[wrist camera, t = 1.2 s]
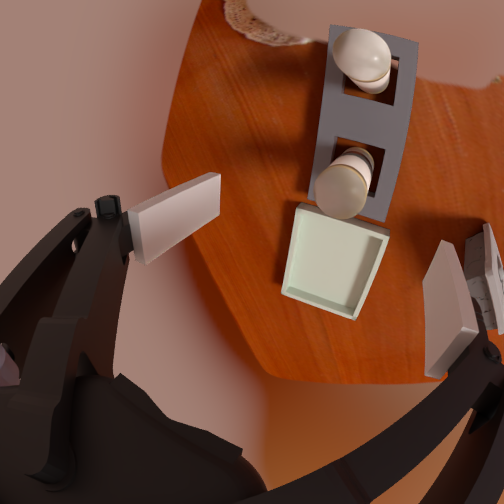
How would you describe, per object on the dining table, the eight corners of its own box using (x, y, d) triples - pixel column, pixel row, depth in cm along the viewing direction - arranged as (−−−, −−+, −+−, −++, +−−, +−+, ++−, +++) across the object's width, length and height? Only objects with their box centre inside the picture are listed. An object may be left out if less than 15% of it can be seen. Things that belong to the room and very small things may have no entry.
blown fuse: (343, 142, 27) (317, 160, 18) (377, 151, 25) (371, 175, 16) (337, 175, 29) (309, 210, 20) (370, 184, 28) (358, 225, 18)
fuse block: (333, 29, 20) (329, 24, 19) (416, 47, 17) (418, 42, 16) (311, 193, 31) (307, 199, 30) (384, 216, 28) (384, 222, 27)
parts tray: (301, 202, 33) (296, 207, 31) (389, 229, 29) (389, 236, 27) (286, 285, 40) (280, 293, 38) (357, 311, 36) (355, 320, 35)
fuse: (355, 57, 21) (334, 24, 12) (390, 65, 20) (392, 35, 11) (351, 89, 23) (329, 74, 14) (386, 97, 22) (388, 86, 13)
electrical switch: (505, 279, 23) (518, 330, 16) (474, 293, 27) (479, 345, 20) (487, 218, 22) (506, 261, 15) (453, 235, 25) (461, 282, 19)
